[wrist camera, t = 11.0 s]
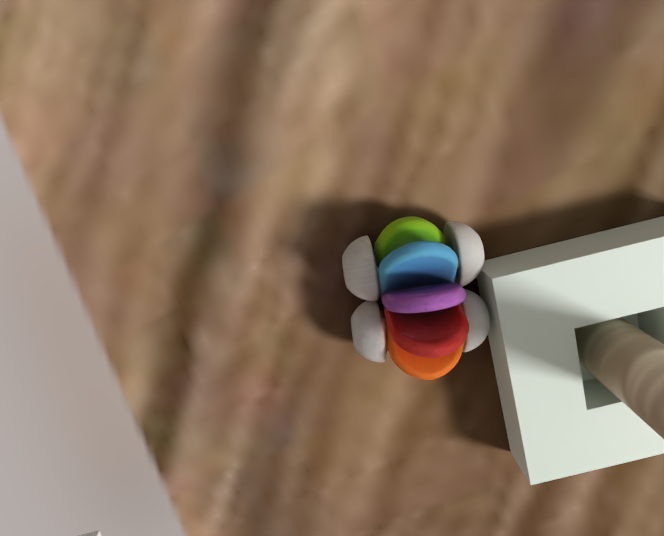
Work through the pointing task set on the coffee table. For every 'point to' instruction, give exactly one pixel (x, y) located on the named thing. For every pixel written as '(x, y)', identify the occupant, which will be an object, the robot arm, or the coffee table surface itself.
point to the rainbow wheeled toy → (417, 295)
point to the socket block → (571, 346)
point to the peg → (626, 366)
